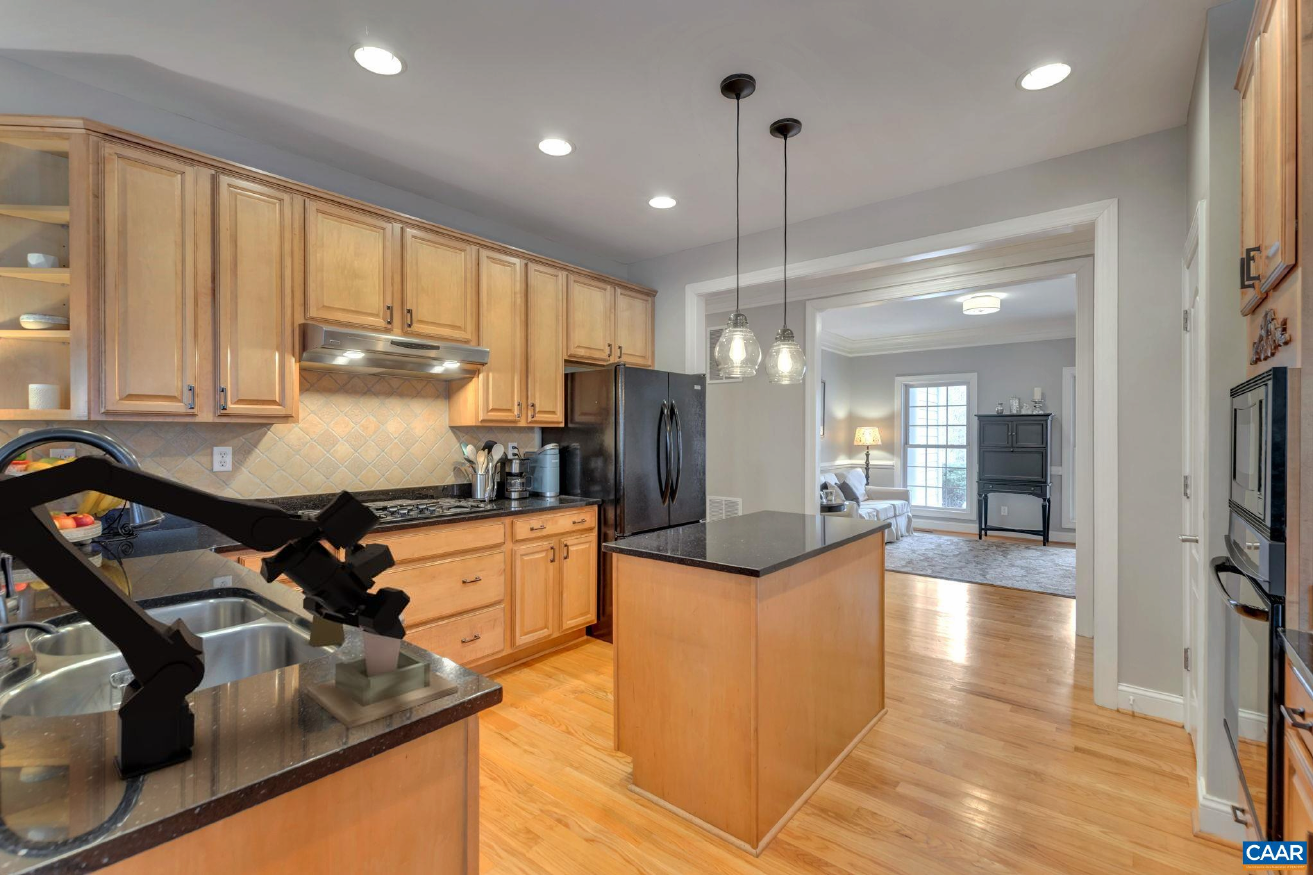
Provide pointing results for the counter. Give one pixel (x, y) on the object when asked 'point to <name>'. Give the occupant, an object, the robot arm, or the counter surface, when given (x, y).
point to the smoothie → (381, 652)
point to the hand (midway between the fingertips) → (390, 632)
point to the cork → (325, 632)
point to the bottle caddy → (379, 689)
